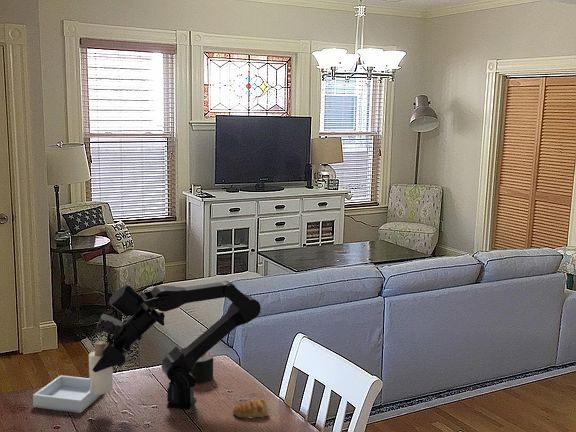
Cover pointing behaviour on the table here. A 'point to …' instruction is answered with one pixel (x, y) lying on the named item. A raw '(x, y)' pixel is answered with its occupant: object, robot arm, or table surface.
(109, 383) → the dressing bottle
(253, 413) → the pastry
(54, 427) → the table surface
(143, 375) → the table surface
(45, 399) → the bin
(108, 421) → the table surface
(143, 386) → the table surface
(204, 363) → the sushi
